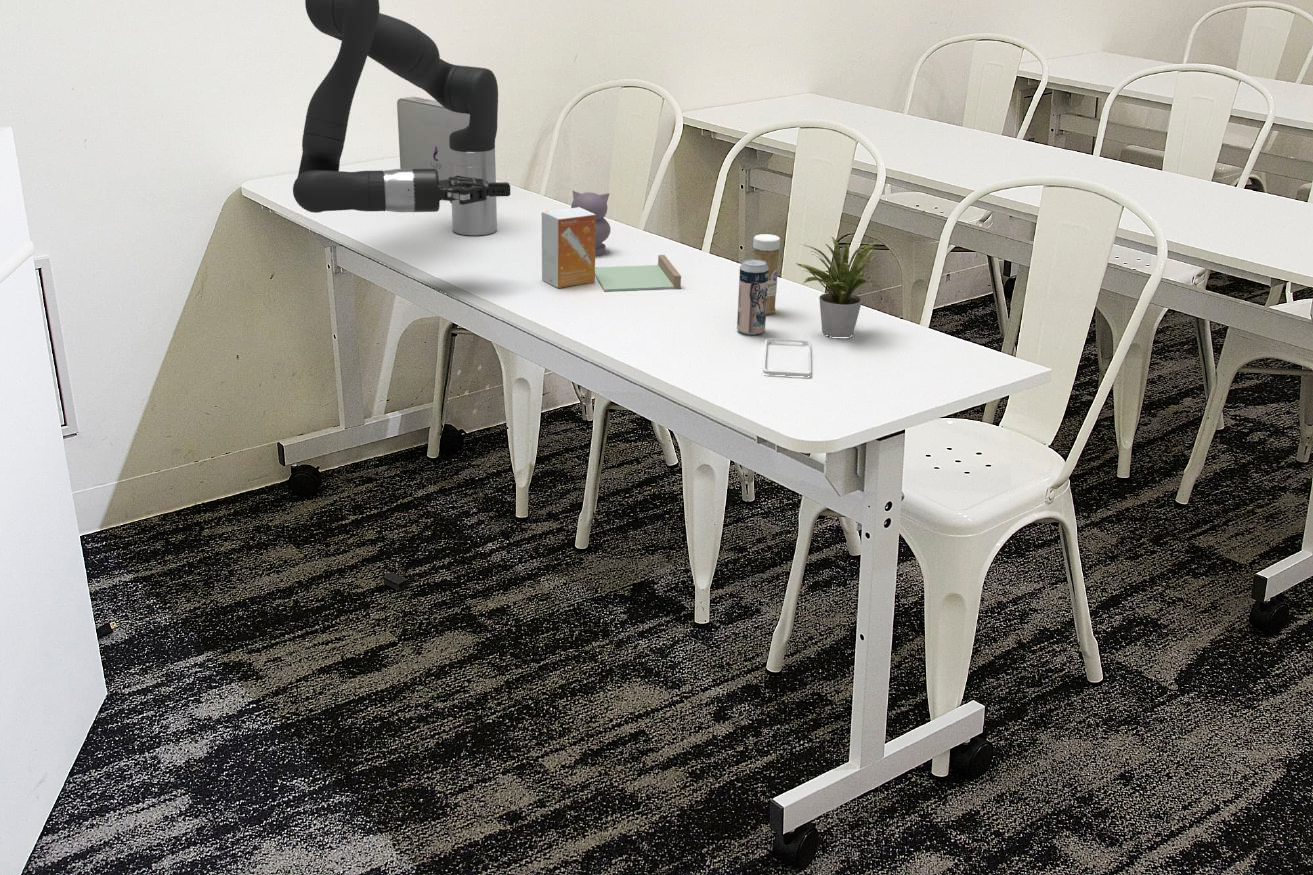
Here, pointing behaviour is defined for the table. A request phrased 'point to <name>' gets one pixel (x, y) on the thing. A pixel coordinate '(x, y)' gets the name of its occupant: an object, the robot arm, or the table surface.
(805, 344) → the white phone case
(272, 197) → the table surface
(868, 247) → the house plant
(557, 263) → the small box
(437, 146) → the network device
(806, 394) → the table surface
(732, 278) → the table surface
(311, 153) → the robot arm
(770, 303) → the sprinkles bottle
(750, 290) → the beer can
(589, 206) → the cat figurine
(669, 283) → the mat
